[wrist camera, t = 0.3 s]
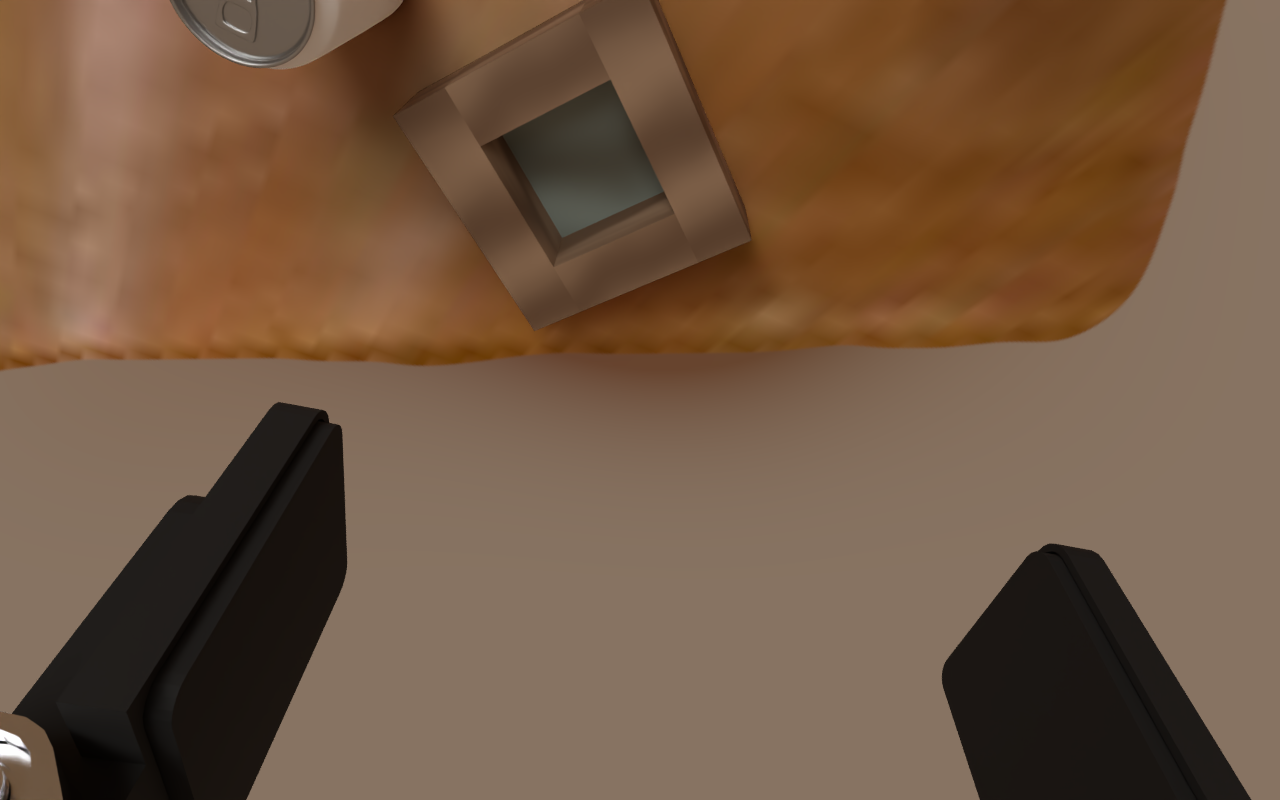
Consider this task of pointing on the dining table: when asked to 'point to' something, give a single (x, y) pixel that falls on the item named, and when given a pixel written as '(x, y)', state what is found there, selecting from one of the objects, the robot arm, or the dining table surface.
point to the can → (279, 27)
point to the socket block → (580, 158)
